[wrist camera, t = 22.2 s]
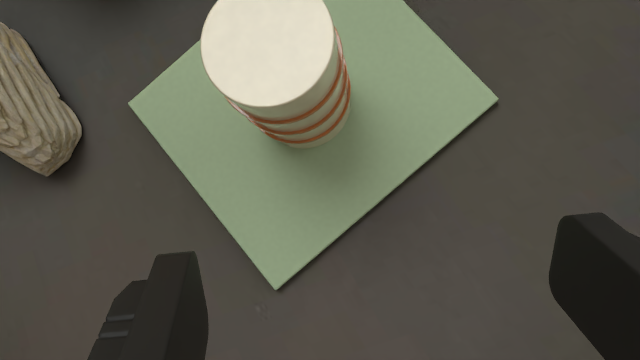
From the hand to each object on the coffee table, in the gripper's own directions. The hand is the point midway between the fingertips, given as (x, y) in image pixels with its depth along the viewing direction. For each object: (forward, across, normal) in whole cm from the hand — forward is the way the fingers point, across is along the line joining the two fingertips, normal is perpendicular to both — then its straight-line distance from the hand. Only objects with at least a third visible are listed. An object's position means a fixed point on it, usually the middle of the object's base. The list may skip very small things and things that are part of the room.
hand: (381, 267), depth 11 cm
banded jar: (+21, 0, +2) cm, 21 cm away
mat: (+22, 0, +2) cm, 22 cm away
